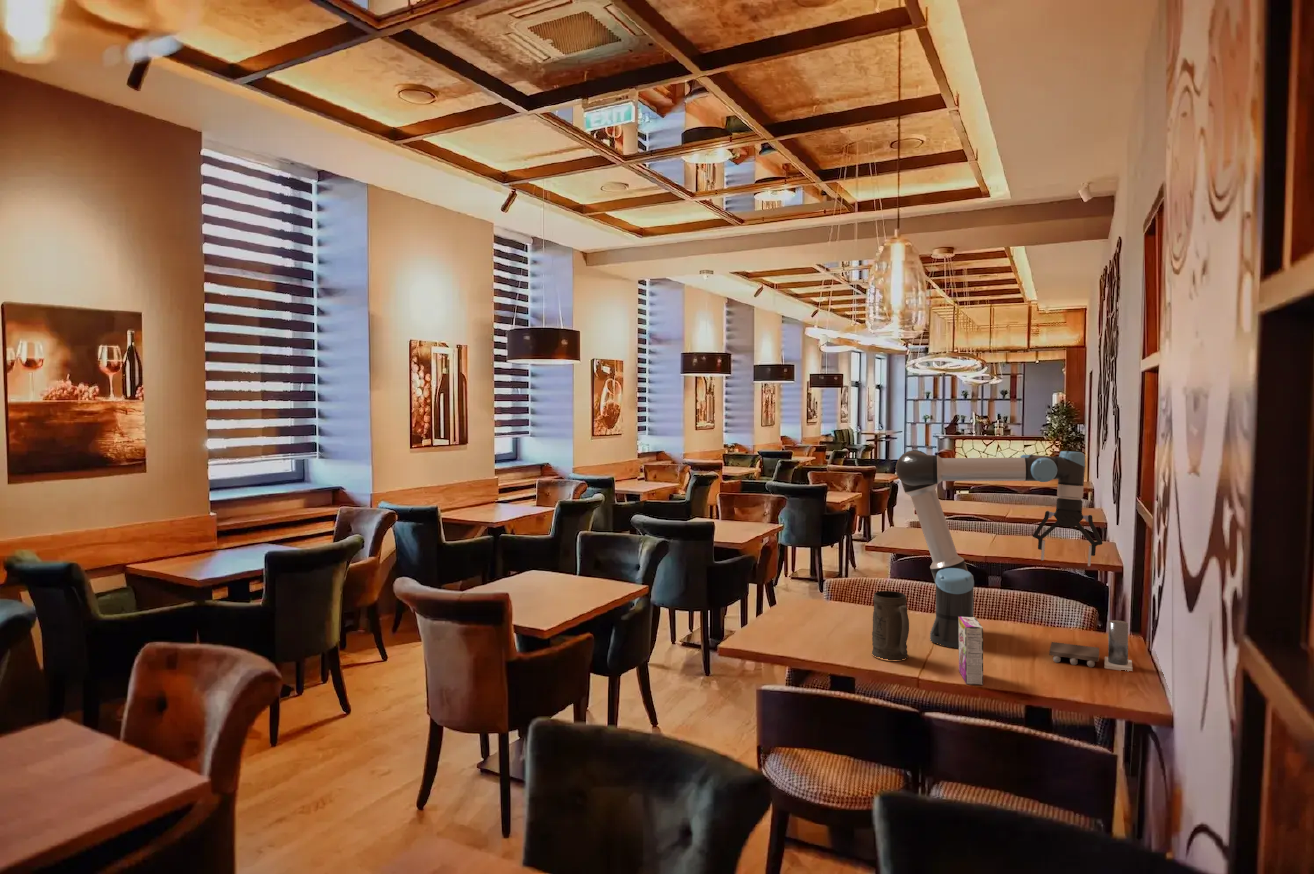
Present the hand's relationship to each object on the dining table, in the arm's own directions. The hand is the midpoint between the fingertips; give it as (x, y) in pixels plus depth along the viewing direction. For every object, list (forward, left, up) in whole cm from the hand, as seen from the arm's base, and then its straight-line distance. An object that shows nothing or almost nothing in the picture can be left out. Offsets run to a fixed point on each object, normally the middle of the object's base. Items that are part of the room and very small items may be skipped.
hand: (1065, 562), depth 254 cm
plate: (+15, -19, -26) cm, 36 cm away
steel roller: (+15, -19, -25) cm, 35 cm away
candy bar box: (-22, -52, -27) cm, 63 cm away
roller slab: (+3, -19, -26) cm, 33 cm away
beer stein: (-45, -44, -26) cm, 68 cm away
